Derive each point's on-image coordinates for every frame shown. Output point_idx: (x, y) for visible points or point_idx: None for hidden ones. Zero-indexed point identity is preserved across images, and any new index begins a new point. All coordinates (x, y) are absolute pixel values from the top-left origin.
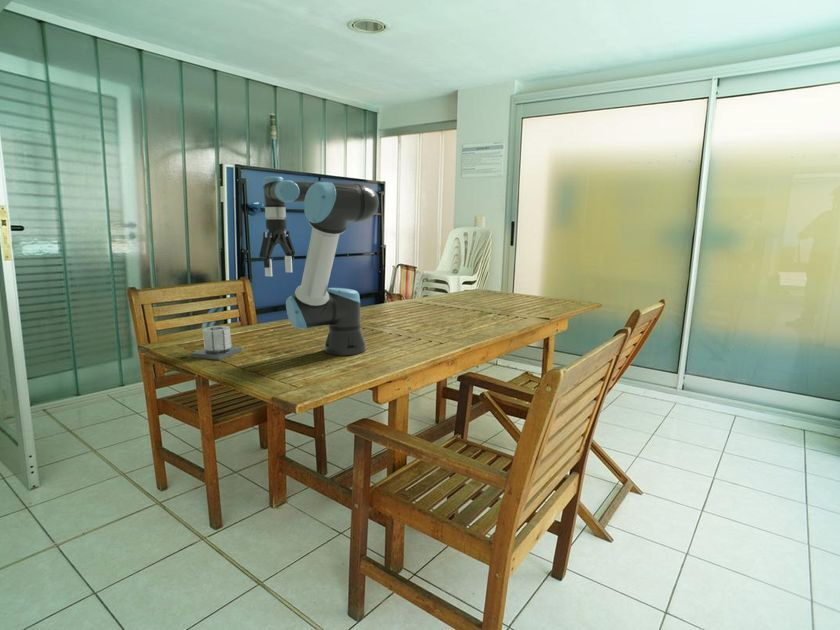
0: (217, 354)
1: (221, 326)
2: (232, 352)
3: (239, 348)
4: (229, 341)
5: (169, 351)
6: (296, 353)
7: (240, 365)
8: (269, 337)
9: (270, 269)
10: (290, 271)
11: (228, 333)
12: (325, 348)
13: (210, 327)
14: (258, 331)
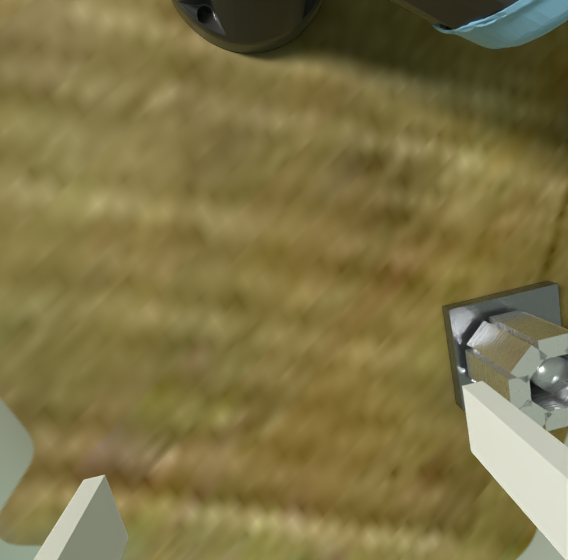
0: (547, 302)
1: (521, 400)
2: (491, 297)
3: (458, 307)
4: (510, 322)
5: None
6: (373, 117)
7: (560, 178)
8: (253, 380)
9: (535, 428)
10: (104, 492)
11: (533, 332)
12: (318, 6)
13: (550, 420)
14: (209, 482)
